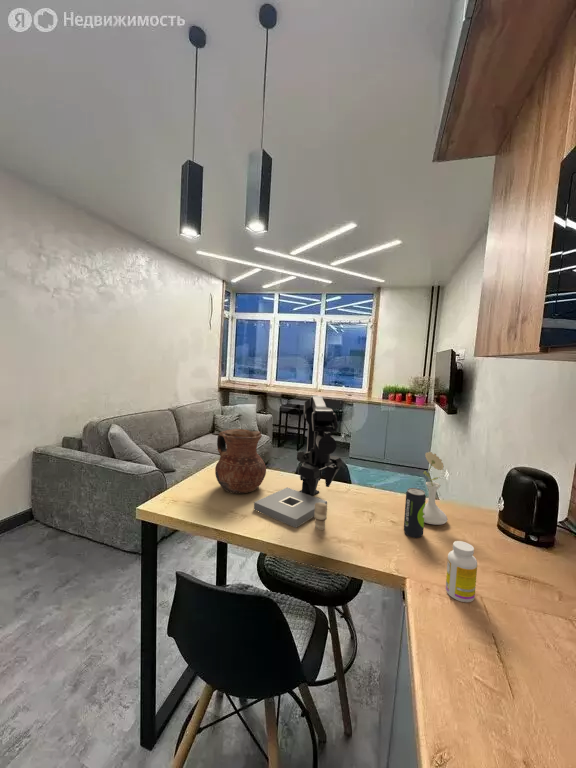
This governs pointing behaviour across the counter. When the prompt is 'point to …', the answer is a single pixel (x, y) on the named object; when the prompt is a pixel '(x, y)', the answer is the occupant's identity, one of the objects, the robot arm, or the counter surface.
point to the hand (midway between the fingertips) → (320, 490)
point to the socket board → (288, 506)
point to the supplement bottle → (461, 572)
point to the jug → (239, 461)
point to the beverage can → (414, 512)
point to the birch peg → (320, 515)
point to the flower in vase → (433, 494)
